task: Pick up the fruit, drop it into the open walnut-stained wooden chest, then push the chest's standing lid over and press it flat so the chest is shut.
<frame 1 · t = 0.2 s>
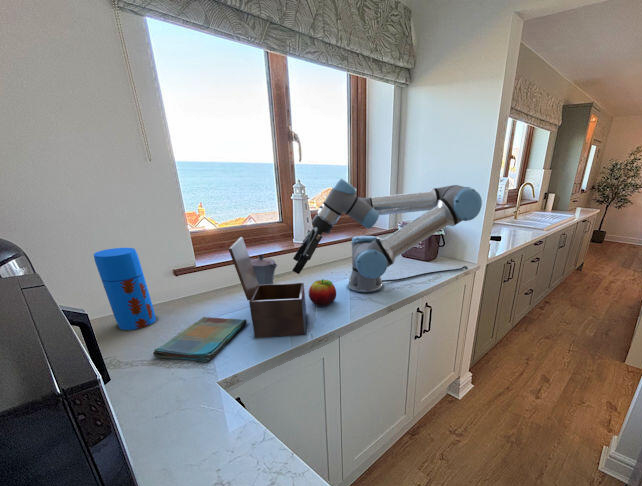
hand: (295, 266, 124), 15 cm above the worktop, tool tilted 35°, fingers open, 13 cm apart
chest: (282, 325, 111), on the worktop
chest lid: (244, 267, 101), point 21 cm above the worktop, hinge at 100.0°
thermos: (137, 323, 111), on the worktop
dish towel: (205, 339, 102), on the worktop
moka pot: (264, 303, 128), on the worktop
fruit: (323, 303, 129), on the worktop
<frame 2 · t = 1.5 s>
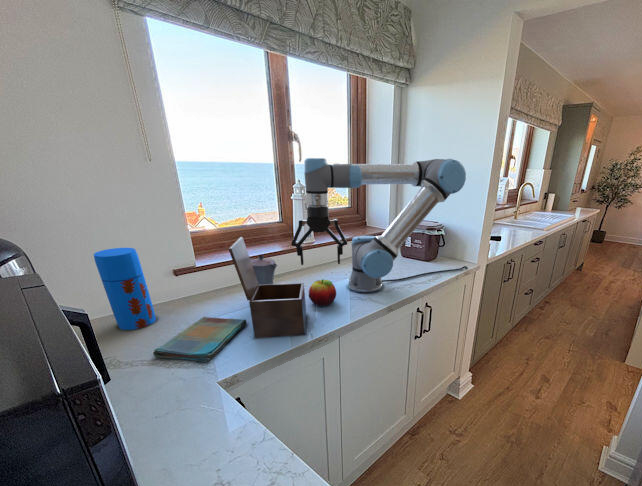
hand: (320, 263, 122), 17 cm above the worktop, tool pointing down, fingers open, 13 cm apart
nothing on the worktop moved.
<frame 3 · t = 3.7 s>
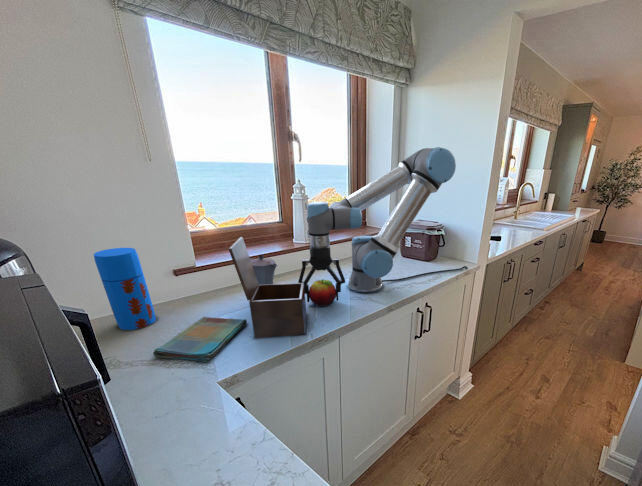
hand: (323, 300, 129), 1 cm above the worktop, tool pointing down, fingers closed on fruit, 11 cm apart
fruit: (323, 303, 129), on the worktop, touching gripper
everything else where it was.
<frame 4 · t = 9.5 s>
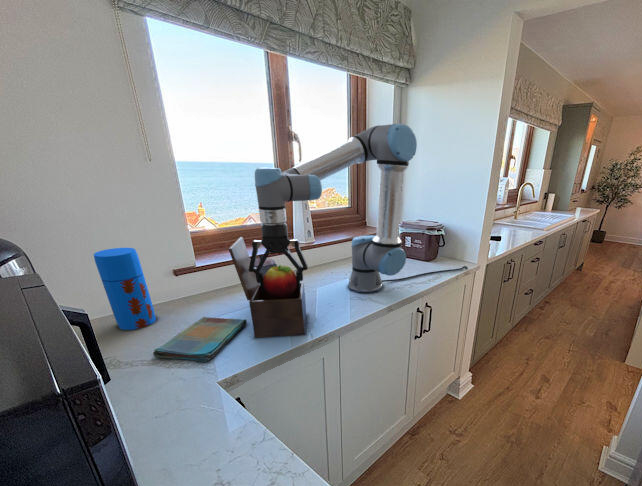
hand: (281, 290, 106), 13 cm above the worktop, tool pointing down, fingers closed on fruit, 11 cm apart
fruit: (282, 295, 107), point 11 cm above the worktop, touching gripper
everything else where it was.
when the fingers open (15 cm above the worktop, at t = 29.4 s): fruit drops 12 cm, resting on chest.
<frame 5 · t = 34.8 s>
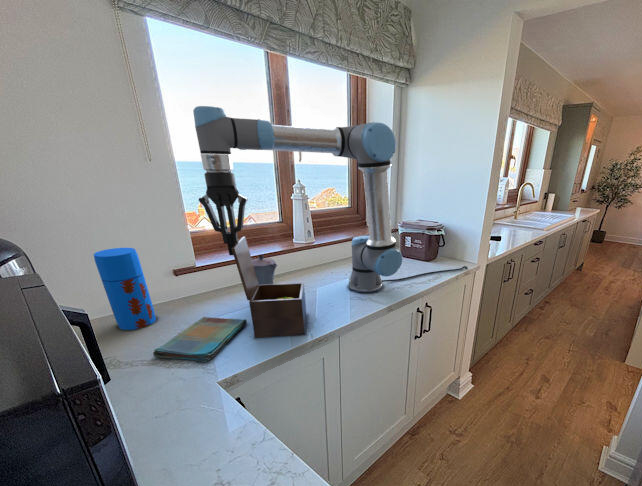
hand: (233, 253, 99), 26 cm above the worktop, tool pointing down, fingers closed
chest lid: (246, 267, 101), point 21 cm above the worktop, hinge at 97.0°, touching gripper
fruit: (287, 324, 111), point 1 cm above the worktop, touching chest
everything else where it was.
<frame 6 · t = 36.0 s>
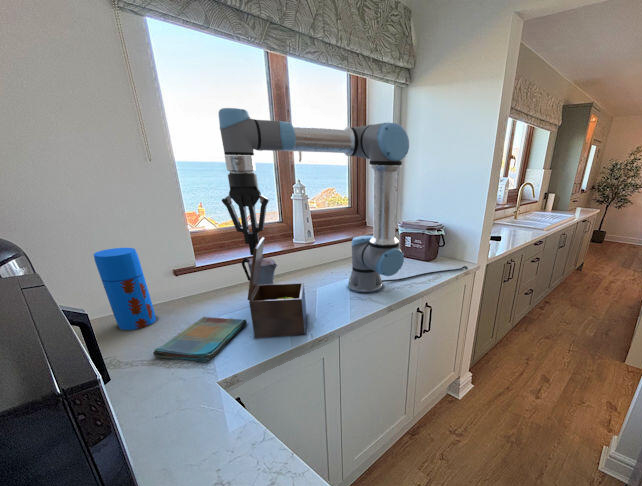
hand: (253, 253, 100), 26 cm above the worktop, tool pointing down, fingers closed
chest lid: (256, 267, 102), point 21 cm above the worktop, hinge at 75.8°, touching gripper
everything else where it was.
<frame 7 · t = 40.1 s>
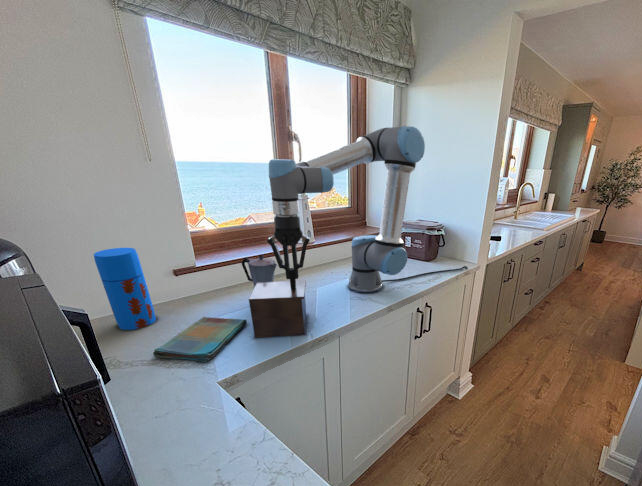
hand: (293, 287, 107), 14 cm above the worktop, tool pointing down, fingers closed
chest lid: (279, 290, 106), point 13 cm above the worktop, hinge at -0.2°, touching chest, gripper
everything else where it was.
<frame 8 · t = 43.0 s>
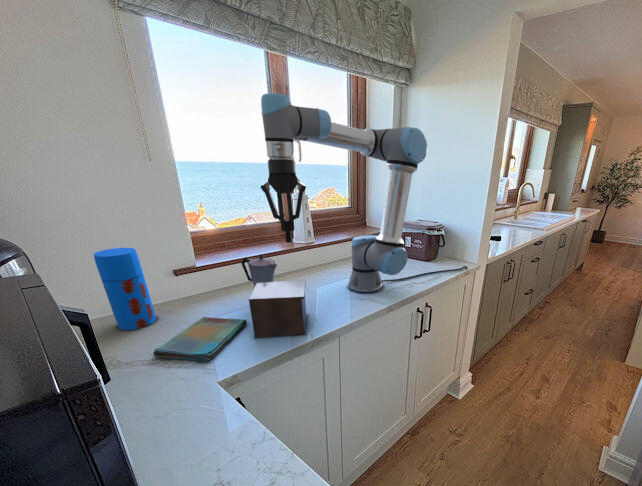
hand: (289, 241, 100), 29 cm above the worktop, tool pointing down, fingers closed
chest lid: (279, 290, 106), point 13 cm above the worktop, hinge at -0.2°, touching chest
everything else where it was.
at the end: fruit inside the target area in the chest (1.9 cm from its centre), point 0.6 cm above the chest's base; chest lid at +0° (first picture: +100°) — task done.
